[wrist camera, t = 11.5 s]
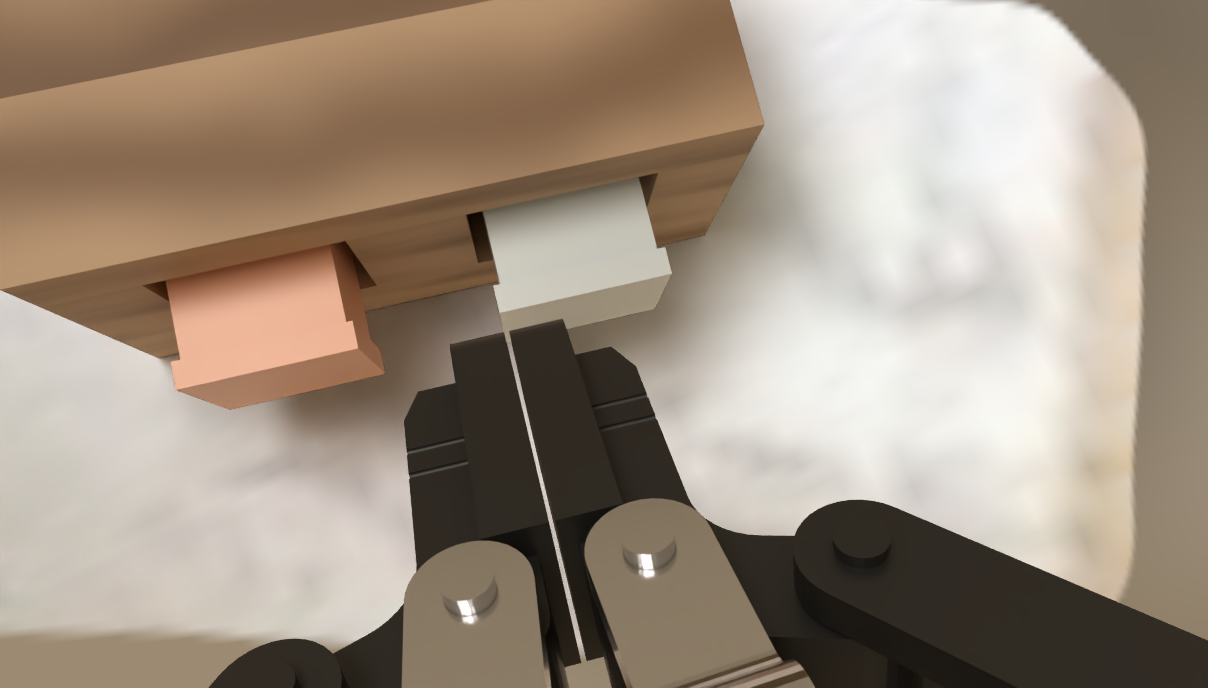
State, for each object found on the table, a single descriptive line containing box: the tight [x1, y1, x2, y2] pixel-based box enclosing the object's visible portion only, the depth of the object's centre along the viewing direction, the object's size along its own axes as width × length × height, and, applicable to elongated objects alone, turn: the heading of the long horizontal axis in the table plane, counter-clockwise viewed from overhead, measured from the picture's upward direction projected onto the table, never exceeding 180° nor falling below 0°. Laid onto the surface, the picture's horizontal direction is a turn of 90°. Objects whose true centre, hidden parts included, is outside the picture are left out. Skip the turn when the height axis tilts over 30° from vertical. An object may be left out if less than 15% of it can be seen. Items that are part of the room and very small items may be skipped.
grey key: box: [482, 177, 672, 343], centre depth 33 cm, size 7×5×5 cm
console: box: [0, 0, 764, 358], centre depth 34 cm, size 10×20×11 cm, turn 104°
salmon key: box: [166, 241, 385, 410], centre depth 32 cm, size 7×5×5 cm
